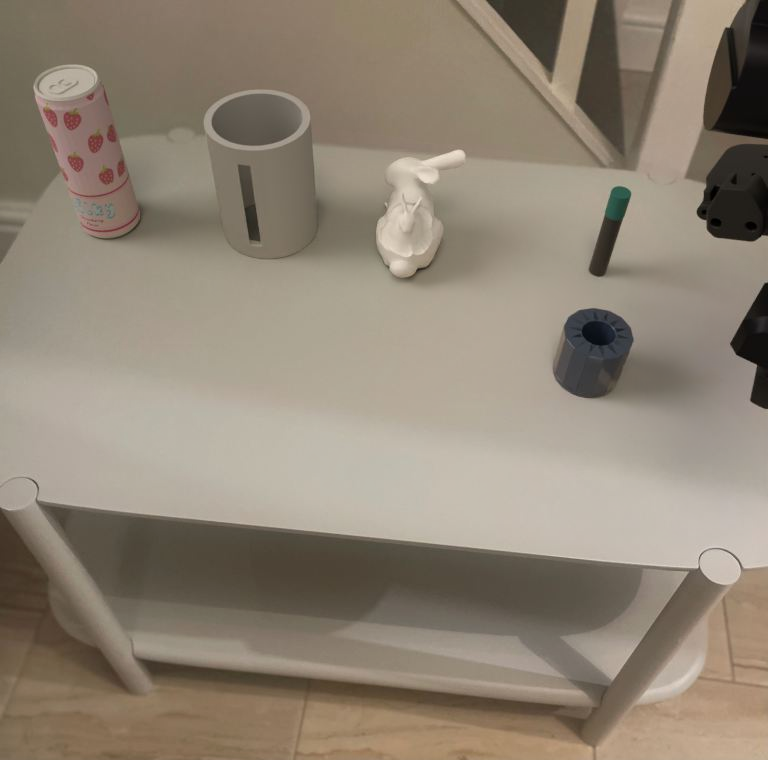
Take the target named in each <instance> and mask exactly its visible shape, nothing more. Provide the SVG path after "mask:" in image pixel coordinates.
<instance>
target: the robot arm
mask: <svg viewBox="0 0 768 760" xmlns="http://www.w3.org/2000/svg"><path fill="white" fill-rule="evenodd" d="M703 102H704V103H703V113H702V115H703V116H702V123H703V124H702V125H703V126H704V130H706V131H707V132H713V133H720V134H727V135H733V136H734V135H735V136H743V137H749V138H754V139H755V138H756V139H763V140H768V0H749V1H748V2H745V3H743V4H742V5H741V7H739V9H738V10H737V12H736V14H735V15H734V17H733V19H732V21H731V23H730V25H729V27H726V26H725V27H724V29H723V31H722V34H721V37H720V40H719V42H718V45H717V49H716V51H715V55H714V57H713V61H712V64H711V67H710V73H709V76H708V80H707V85H706V90H705V94H704V101H703ZM696 216H697V217H698V218H699V219H700V220H702V221H705V223H706V231H707V232H708V233H709V234H710V235H711V236H712V237H713V238H717V239H723V240H733V241H741V242H749V243H753V242H756V241H758V240H759V239H761V238H762V236H763V237H764V236H765V237H768V144H763V143H761V144H760V143H740V144H735V145H732V146H730V147H728V148H727V149H726V150H724V152H723V153H722V155H721V156H720V158H719V159H717V162H715V164H714V166H713V167H712V168H711V170H710V171H709V173H708V174H707V175H706V178H705V188H704V190H703V198H702V201H701V203H700V204H699V206H698V207H697V209H696ZM729 346H730V347H731V349H732V350H733V353H734V354H735V356H737V357H739V358H741V359H742V360H743V359H744V360H745V361H748V362H749V363H752V364H755V365H756V368H755V374H754V379H753V383H752V387H751V393H750V399H749V401H750V403H752V404H754V406H758V407H760V408H762V409H764V410H768V281H767V282H764V283H763V284H762V287H761V288H760V290H759V291H758V294H757V295H756V296H755V298H754V300H753V302H752V303H751V305H750V307H749V309H748V310H747V312H746V314H745V315H744V317H743V319H742V321H741V322H740V325H739V326H738V328H737V330H736V332H735V333H734V335H733V337H732V338H731V341H730V343H729Z"/></svg>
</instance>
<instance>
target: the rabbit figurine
mask: <svg viewBox="0 0 768 760" xmlns="http://www.w3.org/2000/svg"><path fill="white" fill-rule="evenodd" d="M466 161H467V155H466V153H465V151H464V150H462V149H454V150H452V151H450V152H445V153H443V154H440V155H437V156H434V157H431V158H428V159H425V160H422V159H419V158H416V157H411V156H405V157H402V158H399V159H397V160H395V161H393V162H392V163H391V164H389V166H387V168H386V170H385V174H384V180H385V183H386V184H387V185H388V186H391V187H392V189H393V191H392V193H391V194H390V197H389V199H388V202H386V201H384V206H385V208H386V211H385V214H384V215H382V216H380V218H379V219H378V221H377V224H376V228H375V240H376V241H375V243H376V247H377V250H378V253H379V254H380V256H381V257H382V261H383V263H384V265H385V266H387V267H389V271H390V273H391V274H392V275H393V276H395V277H397V278H400V279H401V278H402V279H403V278H404V279H405V278H409V277H412V276H413V275H415V273H416V272H417V270H418V269H424V268H427V267H428V266H429V265H430V263H431V262H432V261H433V260H434V258H435V256H436V253H437V251H438V248H439V247H440V244H441V241H442V239H443V235H444V225H443V222H442V221H441V220H440V219H438V218H437V217H436V216H435V203H434V199H433V195H432V193H431V191H430V190H429V189H430V188H429V187H428V185H435V184H436V183H437V182H439V181H440V178H441V173H440V172H441V171H447V170H452V169H458V168H460V167H462V166H464V165H465V163H466Z"/></svg>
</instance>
